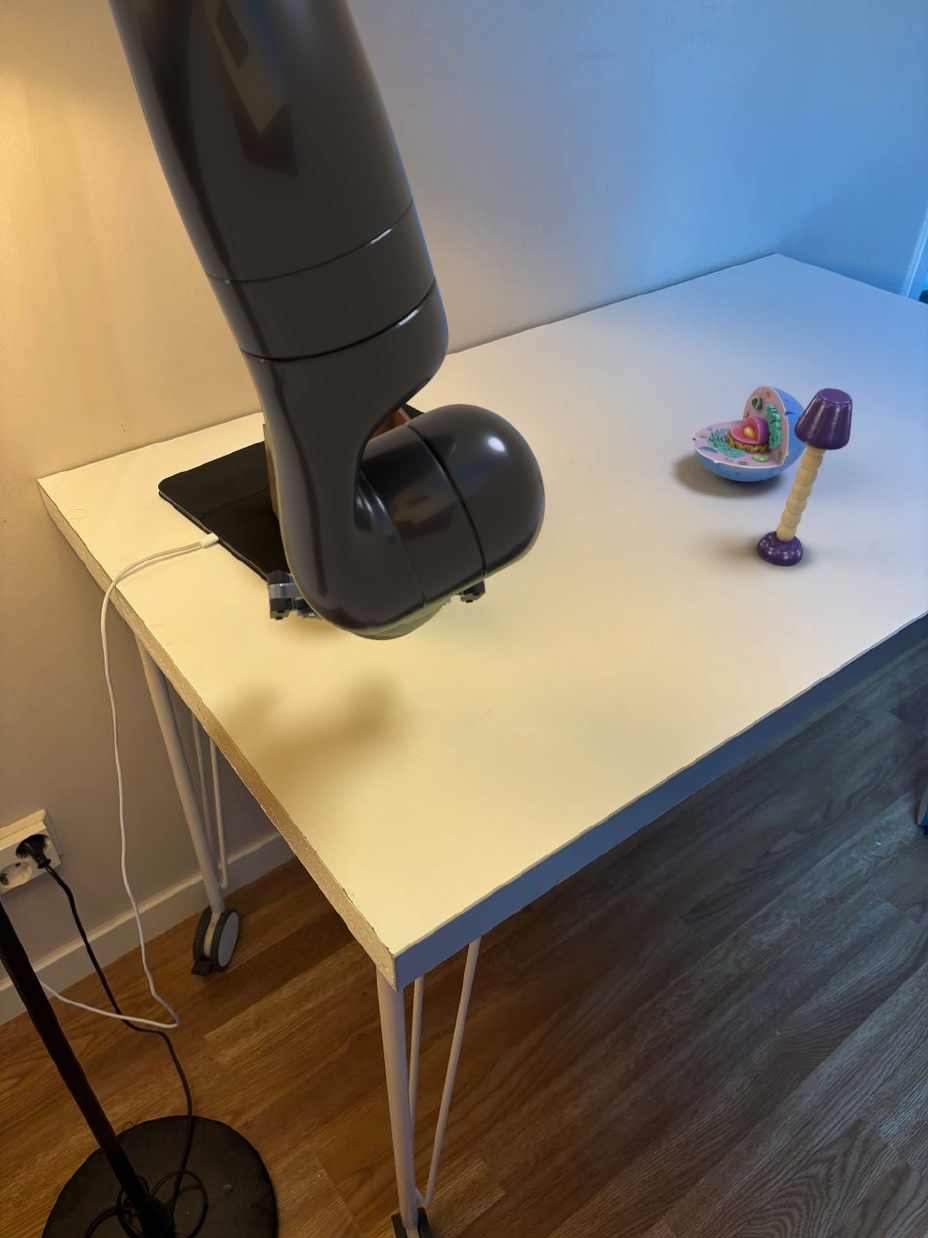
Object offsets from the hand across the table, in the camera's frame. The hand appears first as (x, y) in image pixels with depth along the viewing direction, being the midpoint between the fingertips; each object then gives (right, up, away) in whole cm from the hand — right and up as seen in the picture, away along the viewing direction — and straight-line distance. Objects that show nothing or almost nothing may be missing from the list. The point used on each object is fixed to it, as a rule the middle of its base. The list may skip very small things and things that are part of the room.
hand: (370, 598), depth 70 cm
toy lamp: (+37, +5, +21) cm, 43 cm away
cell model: (+36, +14, +31) cm, 50 cm away
